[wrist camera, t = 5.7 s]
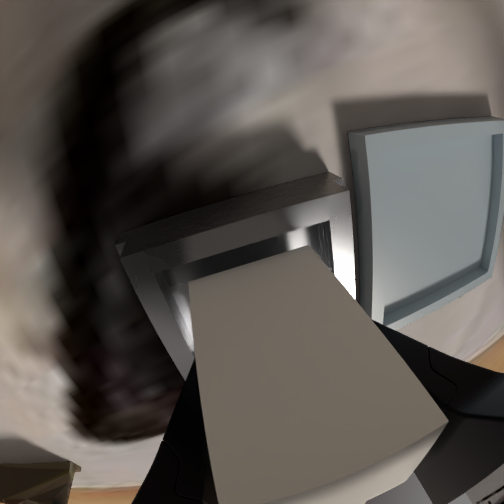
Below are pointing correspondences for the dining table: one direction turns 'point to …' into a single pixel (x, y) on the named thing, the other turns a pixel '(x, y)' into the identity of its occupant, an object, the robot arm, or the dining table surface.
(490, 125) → the blue-grey square tray
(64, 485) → the incense holder
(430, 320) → the dining table surface
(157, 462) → the robot arm
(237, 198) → the tray
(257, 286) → the block
